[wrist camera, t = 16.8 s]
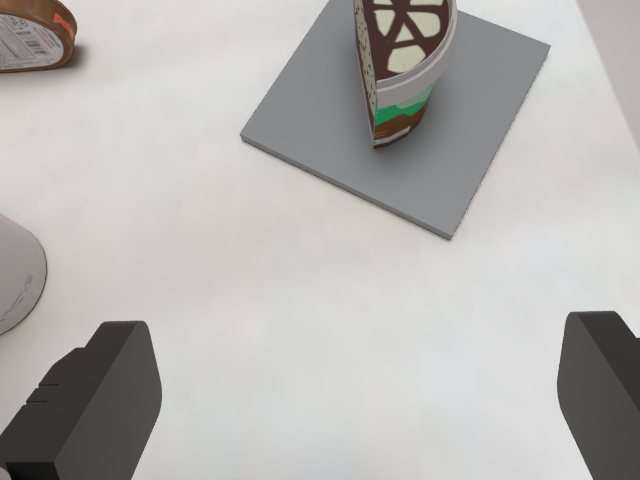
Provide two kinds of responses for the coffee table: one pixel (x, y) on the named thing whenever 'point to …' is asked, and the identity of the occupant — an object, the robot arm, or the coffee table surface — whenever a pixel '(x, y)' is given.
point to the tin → (35, 35)
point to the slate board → (422, 142)
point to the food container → (401, 60)
